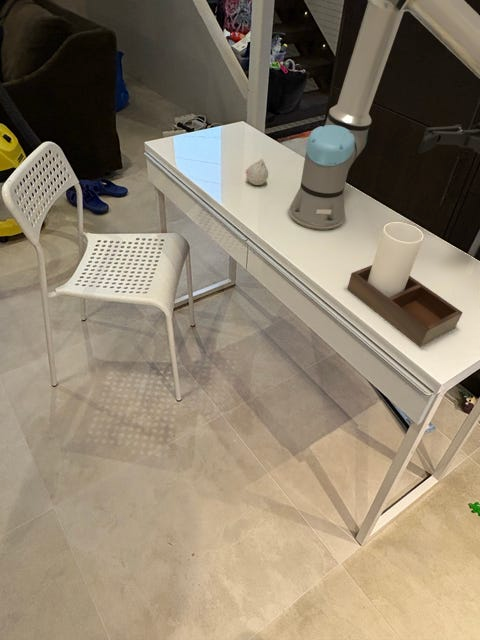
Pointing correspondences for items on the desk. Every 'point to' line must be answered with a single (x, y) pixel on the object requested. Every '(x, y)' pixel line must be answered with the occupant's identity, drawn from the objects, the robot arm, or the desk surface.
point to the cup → (395, 257)
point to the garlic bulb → (257, 173)
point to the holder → (408, 308)
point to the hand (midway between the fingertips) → (451, 158)
